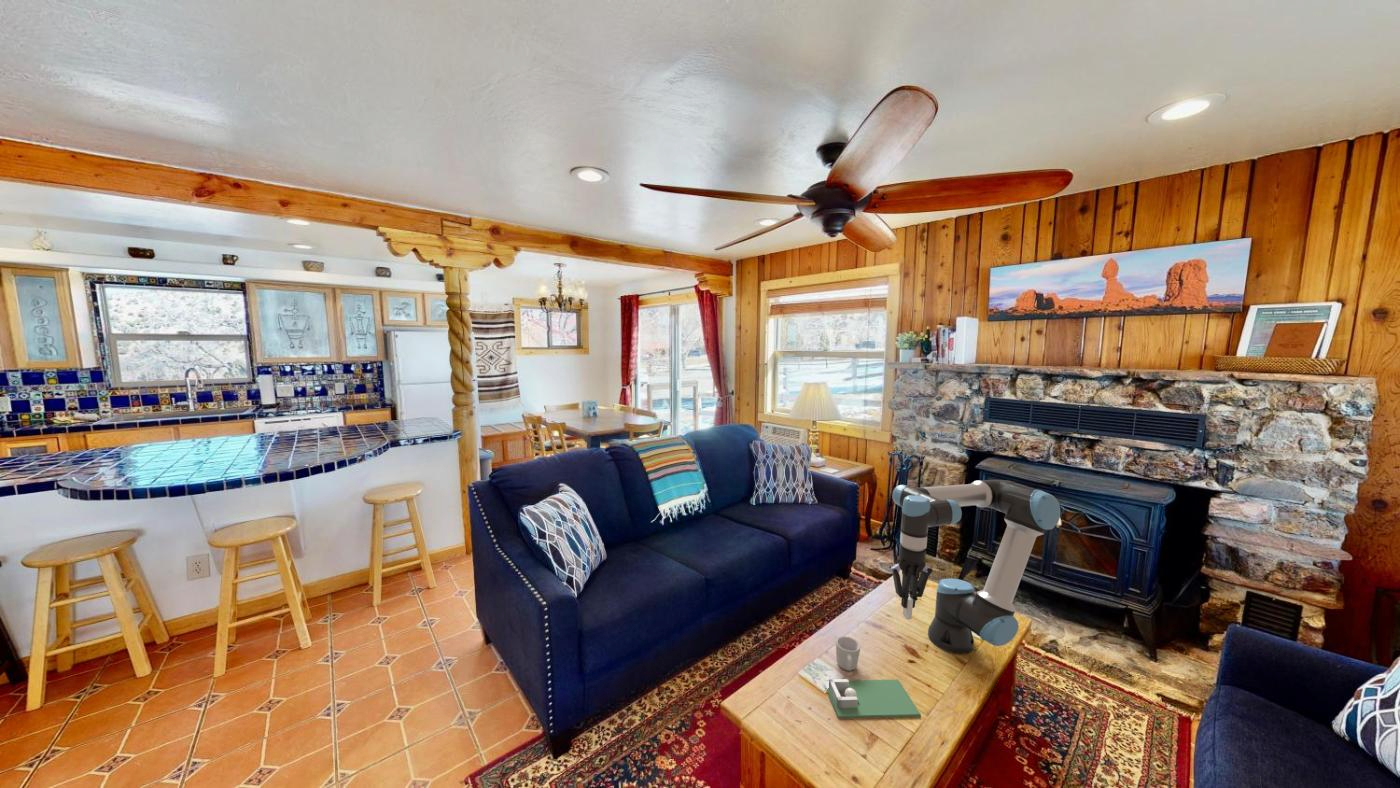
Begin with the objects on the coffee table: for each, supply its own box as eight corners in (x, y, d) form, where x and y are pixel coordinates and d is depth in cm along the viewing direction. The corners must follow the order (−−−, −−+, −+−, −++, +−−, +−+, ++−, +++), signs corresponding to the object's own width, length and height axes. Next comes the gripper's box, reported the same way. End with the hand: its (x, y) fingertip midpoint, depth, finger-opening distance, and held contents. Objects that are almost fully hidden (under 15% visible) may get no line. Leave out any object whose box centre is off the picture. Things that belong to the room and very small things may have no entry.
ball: (850, 682, 143) (840, 688, 143) (855, 691, 140) (845, 697, 140) (856, 691, 144) (846, 697, 144) (860, 700, 140) (850, 706, 140)
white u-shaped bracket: (846, 689, 146) (847, 679, 146) (857, 710, 138) (857, 699, 138) (828, 689, 146) (829, 679, 146) (837, 710, 138) (838, 700, 137)
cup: (861, 681, 150) (863, 659, 149) (836, 677, 151) (837, 655, 150) (857, 659, 160) (858, 638, 159) (833, 655, 162) (835, 634, 161)
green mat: (898, 681, 150) (898, 679, 150) (920, 716, 136) (920, 714, 136) (823, 682, 149) (823, 680, 149) (838, 718, 135) (838, 715, 135)
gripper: (926, 540, 146) (920, 609, 149) (886, 540, 146) (881, 609, 149) (940, 551, 139) (933, 623, 142) (898, 551, 138) (892, 624, 141)
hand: (907, 616), depth 145 cm, fingers closed
